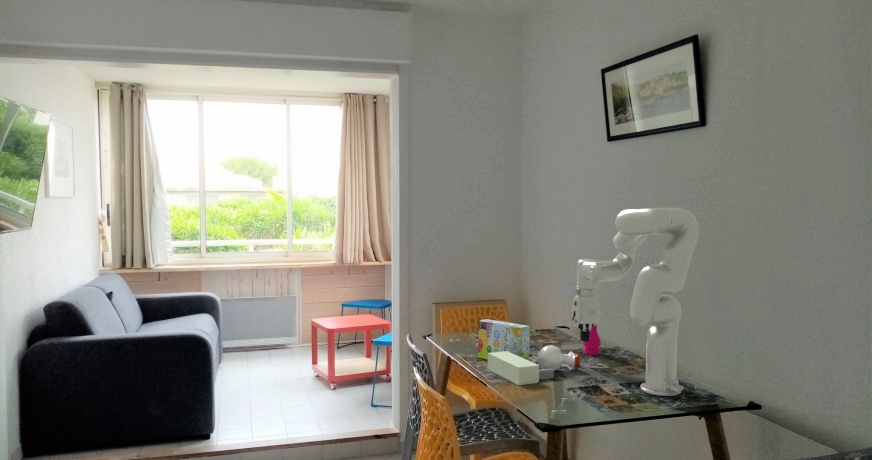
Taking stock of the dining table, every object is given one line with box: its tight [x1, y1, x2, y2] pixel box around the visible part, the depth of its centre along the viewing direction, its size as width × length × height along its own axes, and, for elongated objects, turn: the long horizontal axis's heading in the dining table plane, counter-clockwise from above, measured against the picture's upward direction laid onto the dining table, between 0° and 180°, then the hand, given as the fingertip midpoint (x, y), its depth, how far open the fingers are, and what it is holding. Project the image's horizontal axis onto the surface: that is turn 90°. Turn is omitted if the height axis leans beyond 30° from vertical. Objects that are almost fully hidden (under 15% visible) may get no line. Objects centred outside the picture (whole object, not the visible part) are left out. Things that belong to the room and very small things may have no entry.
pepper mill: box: [582, 324, 602, 356], centre depth 259 cm, size 7×7×20 cm
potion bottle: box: [537, 344, 581, 372], centre depth 233 cm, size 9×10×15 cm
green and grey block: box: [487, 351, 555, 386], centre depth 227 cm, size 22×16×6 cm
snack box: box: [477, 319, 531, 361], centre depth 245 cm, size 21×6×15 cm, turn 47°
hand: (584, 340), depth 238 cm, fingers closed
